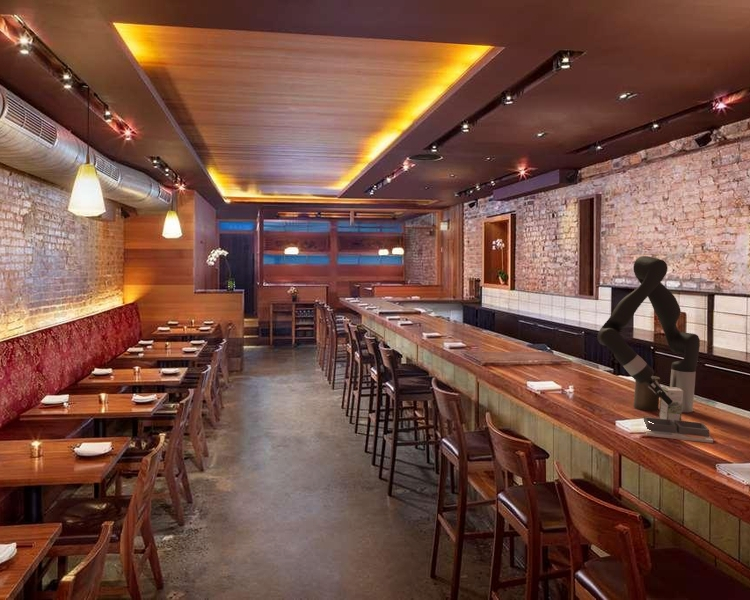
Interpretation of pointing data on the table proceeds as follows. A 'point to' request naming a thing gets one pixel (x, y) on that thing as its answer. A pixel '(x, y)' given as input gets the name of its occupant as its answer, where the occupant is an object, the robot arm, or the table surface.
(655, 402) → the pillar candle
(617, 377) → the table surface
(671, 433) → the socket board
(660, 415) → the syrup box
